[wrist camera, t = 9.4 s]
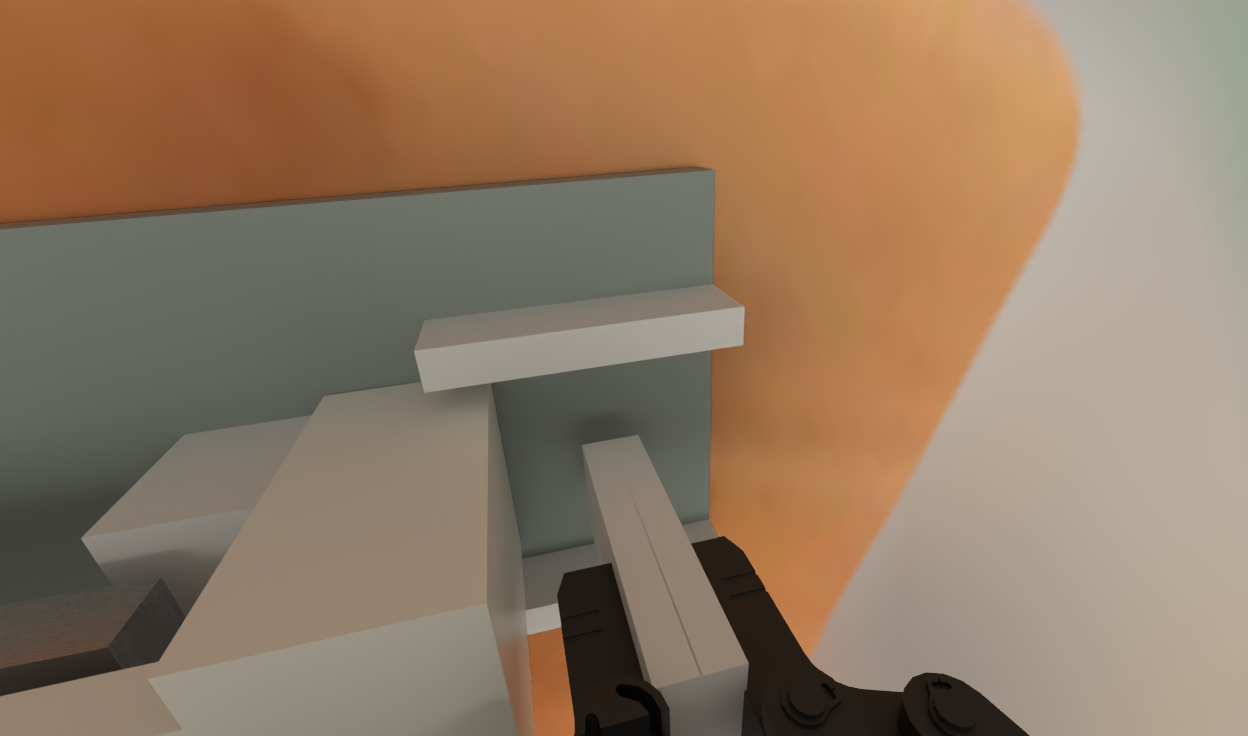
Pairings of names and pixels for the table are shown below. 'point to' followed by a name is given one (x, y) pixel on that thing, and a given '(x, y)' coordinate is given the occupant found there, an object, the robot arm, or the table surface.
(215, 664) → the block
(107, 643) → the grey long flat bar
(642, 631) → the robot arm
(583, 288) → the mount
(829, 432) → the table surface
